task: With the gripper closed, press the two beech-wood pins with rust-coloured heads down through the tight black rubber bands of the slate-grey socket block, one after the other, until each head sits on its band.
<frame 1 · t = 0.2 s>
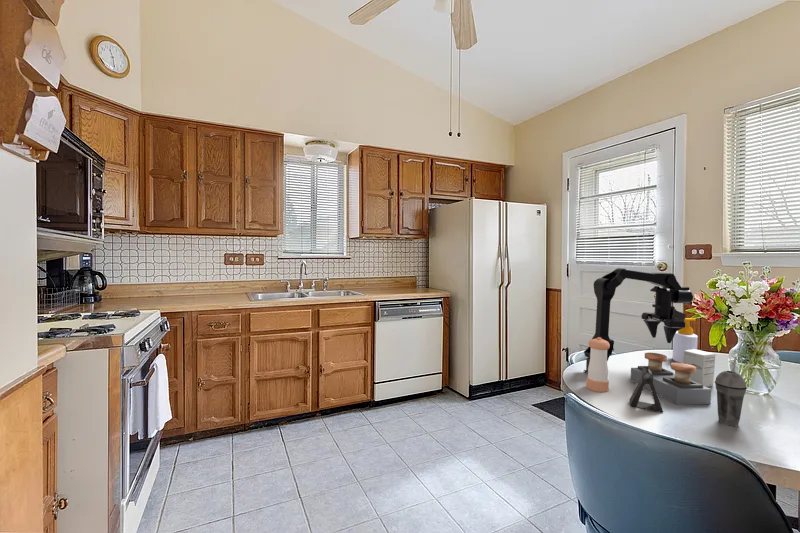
hand: (661, 340, 156), 14 cm above the table, tool pointing down, fingers open, 9 cm apart
pin left: (655, 363, 144), point 8 cm above the table, slide at 0.0 cm
salt shaker: (597, 388, 139), on the table
supplement box: (697, 384, 146), on the table
soap bottle: (684, 362, 175), on the table
pin right: (682, 374, 131), point 8 cm above the table, slide at 0.0 cm
socket block: (667, 390, 138), on the table
phone stand: (645, 407, 124), on the table
beverage cup: (728, 423, 113), on the table
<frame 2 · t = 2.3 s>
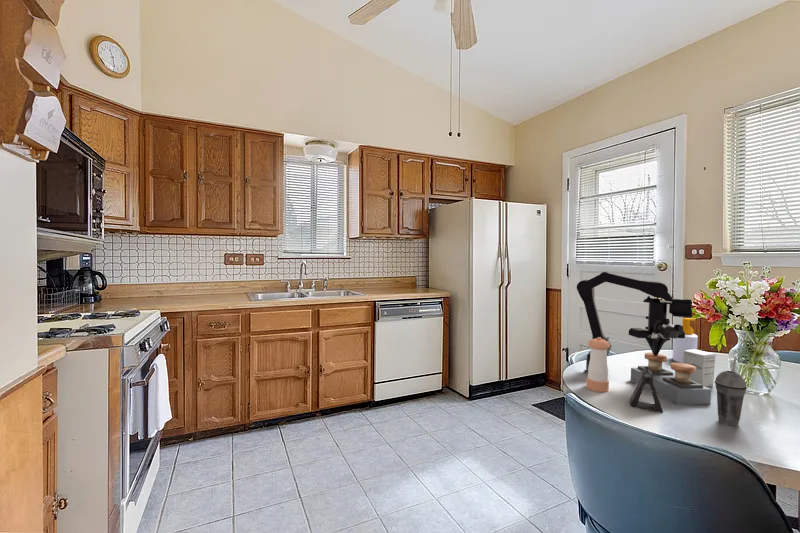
hand: (655, 355, 144), 11 cm above the table, tool pointing down, fingers closed, pressing on pin left
pin left: (655, 363, 144), point 8 cm above the table, slide at 0.1 cm, touching gripper
everything else where it was.
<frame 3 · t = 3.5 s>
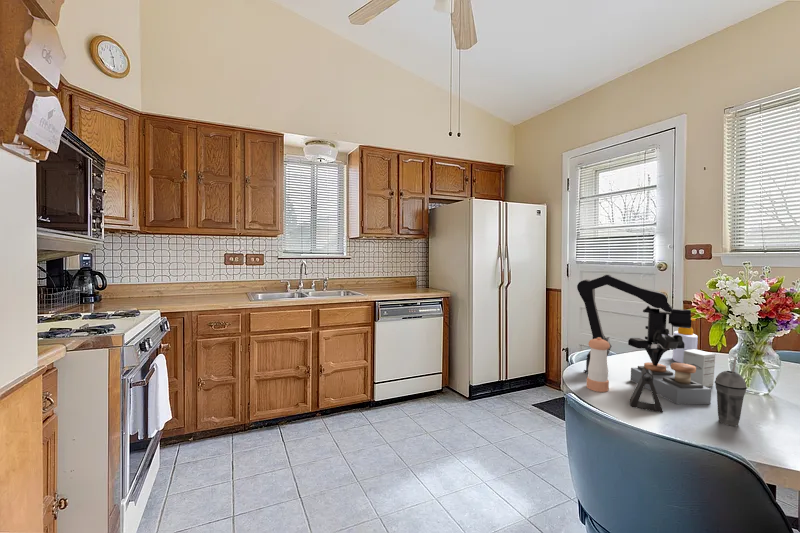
hand: (655, 365, 144), 8 cm above the table, tool pointing down, fingers closed, pressing on pin left
pin left: (654, 373, 144), point 4 cm above the table, slide at 4.0 cm, touching gripper
everything else where it was.
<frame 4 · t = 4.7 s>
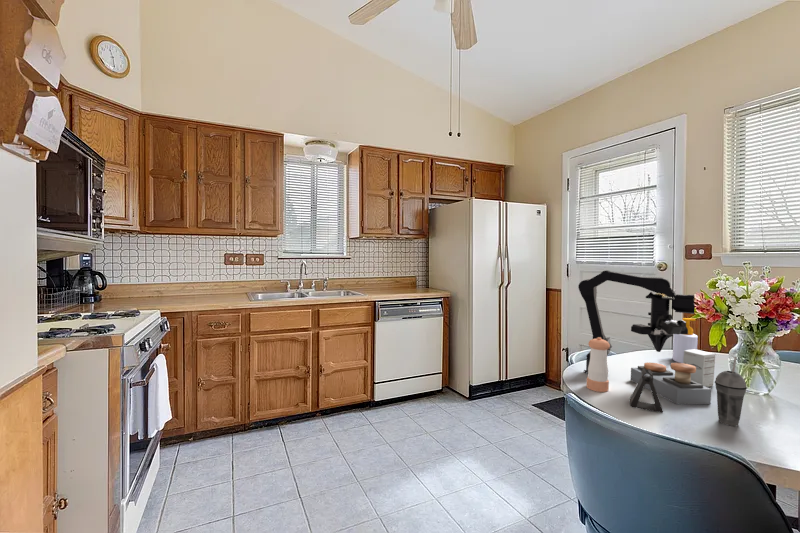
hand: (658, 351, 142), 13 cm above the table, tool pointing down, fingers closed
pin left: (654, 373, 144), point 4 cm above the table, slide at 4.0 cm
everything else where it was.
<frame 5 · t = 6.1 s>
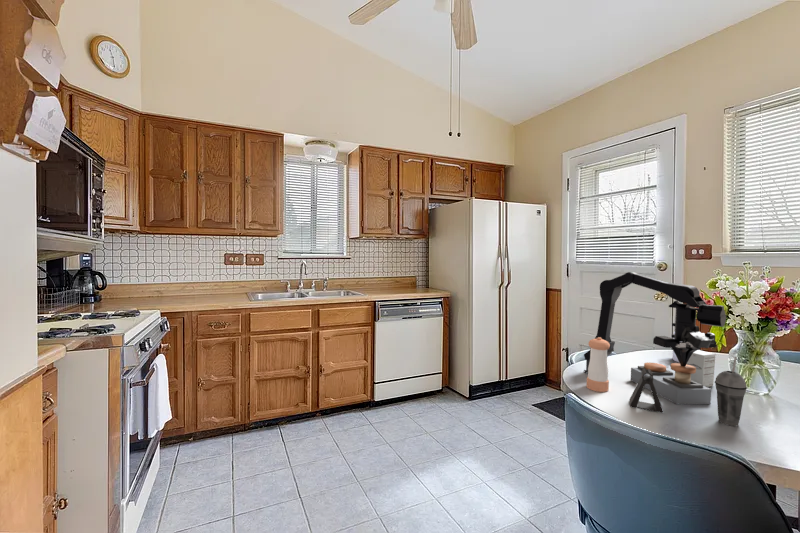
hand: (683, 366, 131), 11 cm above the table, tool pointing down, fingers closed, pressing on pin right
pin right: (682, 375, 131), point 8 cm above the table, slide at 0.2 cm, touching gripper
everything else where it was.
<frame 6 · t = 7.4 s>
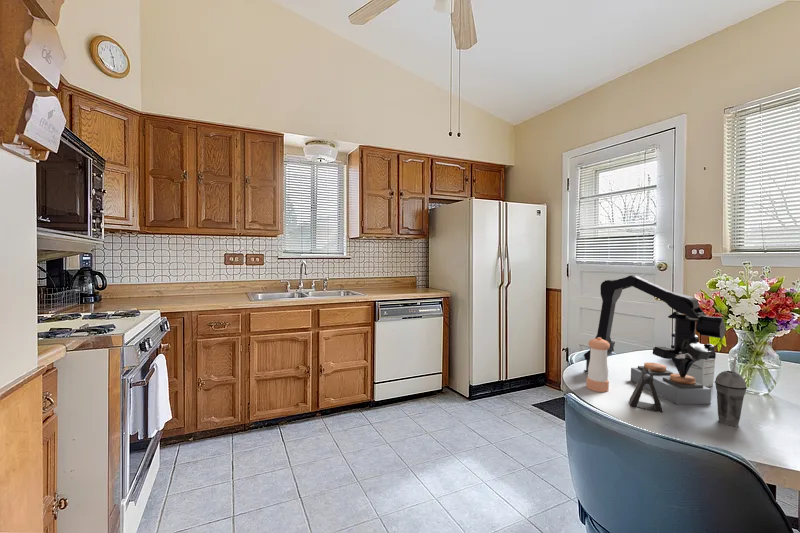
hand: (682, 376, 131), 8 cm above the table, tool pointing down, fingers closed, pressing on pin right
pin right: (682, 385, 131), point 4 cm above the table, slide at 4.0 cm, touching gripper
everything else where it was.
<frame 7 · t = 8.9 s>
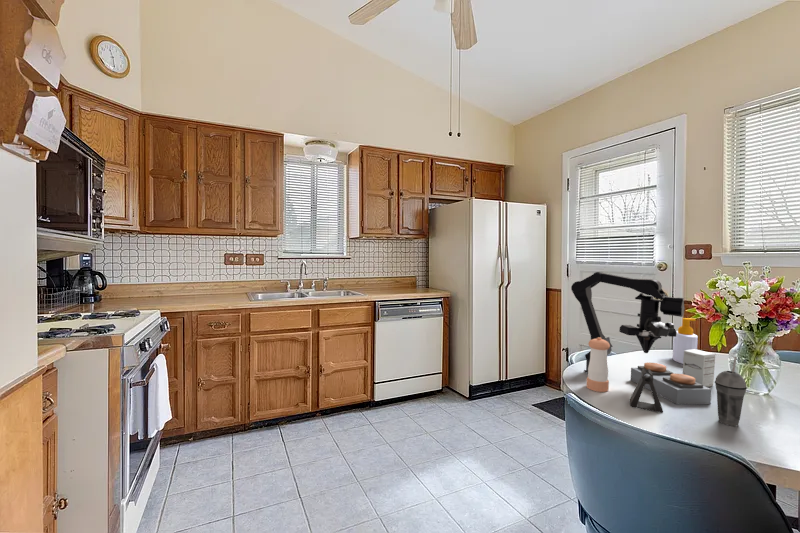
hand: (645, 352, 143), 13 cm above the table, tool pointing down, fingers closed
pin right: (682, 385, 131), point 4 cm above the table, slide at 4.0 cm
everything else where it was.
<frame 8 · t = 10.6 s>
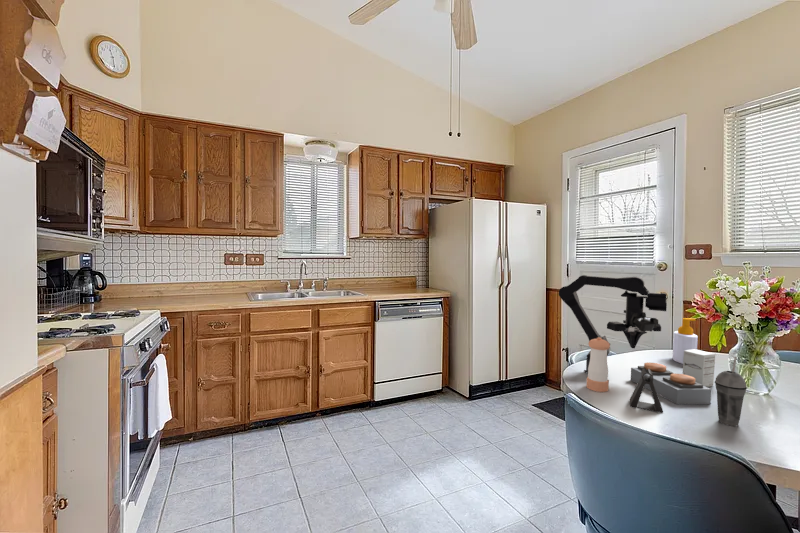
hand: (632, 348, 148), 13 cm above the table, tool pointing down, fingers closed
nothing on the table moved.
at the end: pin left slide at 4.0 cm; pin right slide at 4.0 cm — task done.
